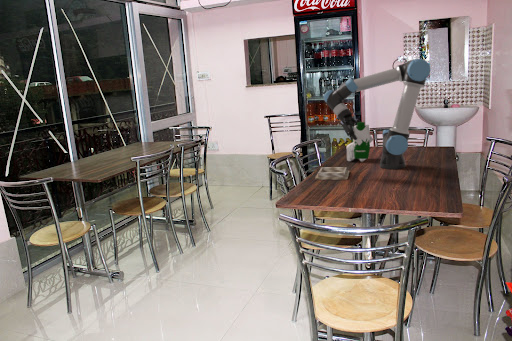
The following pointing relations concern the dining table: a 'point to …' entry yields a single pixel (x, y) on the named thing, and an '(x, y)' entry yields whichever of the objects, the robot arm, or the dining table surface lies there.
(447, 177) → the dining table surface
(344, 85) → the robot arm
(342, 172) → the tray
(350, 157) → the cable organizer
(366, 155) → the milk carton
